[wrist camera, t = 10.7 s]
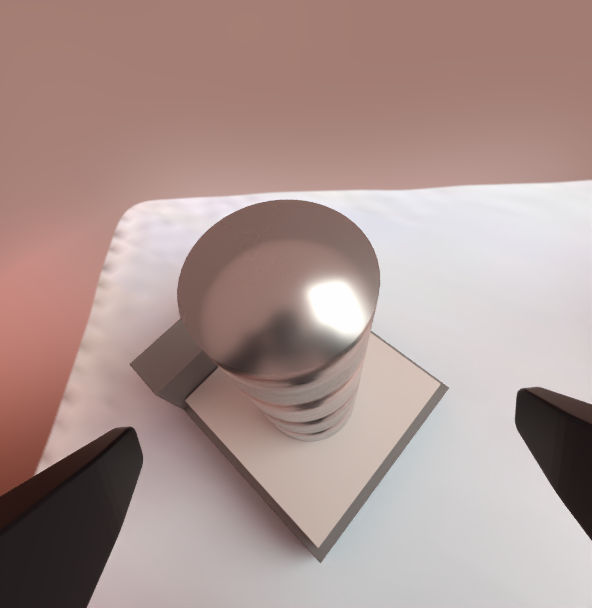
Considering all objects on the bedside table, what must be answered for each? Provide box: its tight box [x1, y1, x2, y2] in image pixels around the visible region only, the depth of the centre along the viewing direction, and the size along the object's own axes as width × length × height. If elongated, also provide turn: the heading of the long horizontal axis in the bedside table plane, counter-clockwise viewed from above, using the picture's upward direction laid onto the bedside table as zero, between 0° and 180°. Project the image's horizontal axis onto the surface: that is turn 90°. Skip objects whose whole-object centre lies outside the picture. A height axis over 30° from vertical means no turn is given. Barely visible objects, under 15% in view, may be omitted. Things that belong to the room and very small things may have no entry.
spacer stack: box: [177, 200, 380, 442], centre depth 14 cm, size 5×5×12 cm
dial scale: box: [130, 319, 449, 563], centre depth 20 cm, size 11×14×6 cm
